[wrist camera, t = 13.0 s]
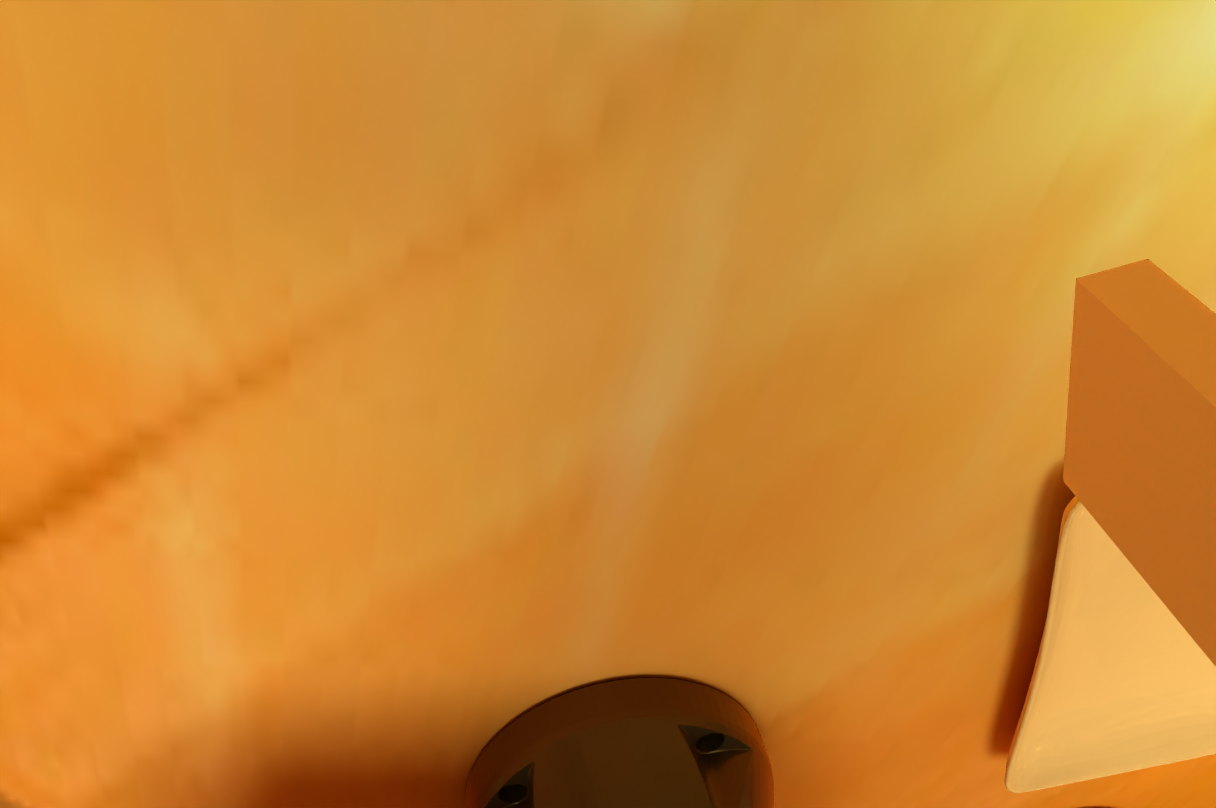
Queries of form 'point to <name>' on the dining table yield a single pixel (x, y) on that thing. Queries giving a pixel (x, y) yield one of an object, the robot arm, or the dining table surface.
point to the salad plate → (1108, 673)
